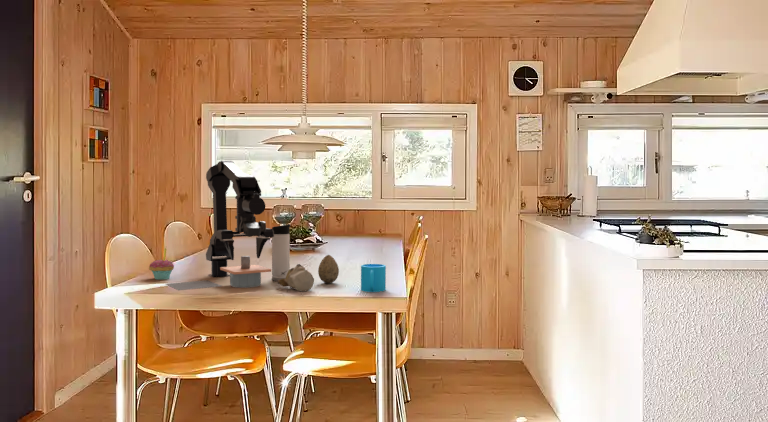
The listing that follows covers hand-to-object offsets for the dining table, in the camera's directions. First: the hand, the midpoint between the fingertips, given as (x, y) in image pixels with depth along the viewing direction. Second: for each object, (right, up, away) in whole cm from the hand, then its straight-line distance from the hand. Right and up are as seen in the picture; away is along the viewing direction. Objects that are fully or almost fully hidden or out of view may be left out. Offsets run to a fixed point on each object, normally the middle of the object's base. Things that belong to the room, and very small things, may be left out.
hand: (245, 259), depth 239 cm
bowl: (0, -9, 0) cm, 9 cm away
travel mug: (+10, -9, +14) cm, 19 cm away
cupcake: (-33, -8, +14) cm, 36 cm away
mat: (-17, -9, 0) cm, 20 cm away
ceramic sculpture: (+18, -10, -4) cm, 21 cm away
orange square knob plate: (0, -4, 0) cm, 4 cm away
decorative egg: (+27, -9, +8) cm, 30 cm away
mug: (+43, -10, -7) cm, 45 cm away
